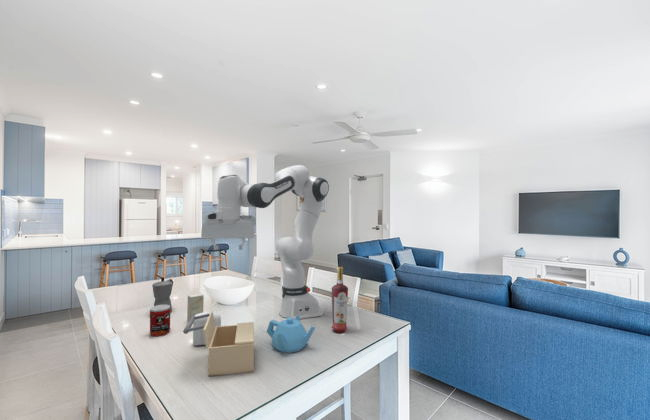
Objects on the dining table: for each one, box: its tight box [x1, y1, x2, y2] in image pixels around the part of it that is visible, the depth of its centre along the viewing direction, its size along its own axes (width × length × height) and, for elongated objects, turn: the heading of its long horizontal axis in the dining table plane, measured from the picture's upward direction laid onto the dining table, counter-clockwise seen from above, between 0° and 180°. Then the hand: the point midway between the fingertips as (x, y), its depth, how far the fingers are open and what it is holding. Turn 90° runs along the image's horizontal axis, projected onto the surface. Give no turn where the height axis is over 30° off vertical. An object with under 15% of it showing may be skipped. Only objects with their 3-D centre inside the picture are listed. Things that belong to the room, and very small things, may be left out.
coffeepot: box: [151, 277, 174, 314], centre depth 154 cm, size 15×9×18 cm, turn 176°
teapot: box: [266, 316, 316, 354], centre depth 118 cm, size 15×15×11 cm
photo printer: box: [192, 311, 222, 347], centre depth 119 cm, size 10×4×12 cm, turn 103°
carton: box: [208, 321, 255, 377], centre depth 106 cm, size 14×18×10 cm
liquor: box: [331, 266, 349, 334], centre depth 133 cm, size 7×7×28 cm
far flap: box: [182, 311, 215, 349], centre depth 103 cm, size 7×17×7 cm
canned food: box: [149, 305, 171, 337], centre depth 129 cm, size 8×8×11 cm
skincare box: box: [186, 292, 205, 323], centre depth 143 cm, size 6×4×12 cm
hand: (228, 249), depth 120 cm, fingers open, 8 cm apart
